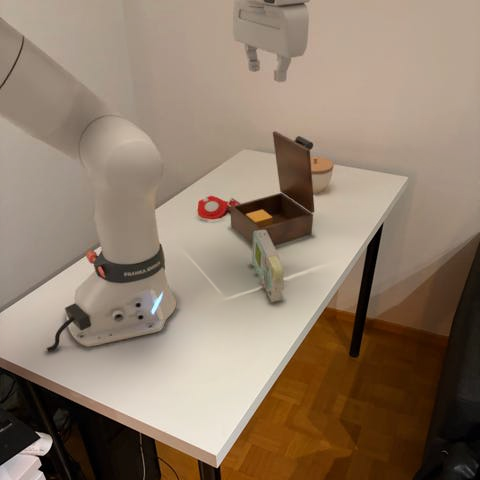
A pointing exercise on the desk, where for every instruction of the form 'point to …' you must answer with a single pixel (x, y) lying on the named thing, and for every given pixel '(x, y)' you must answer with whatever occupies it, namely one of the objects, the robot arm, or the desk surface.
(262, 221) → the block
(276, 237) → the chest
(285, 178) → the lid
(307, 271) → the desk surface
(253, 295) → the desk surface
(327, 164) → the trinket box
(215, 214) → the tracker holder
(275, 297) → the handheld gaming console
